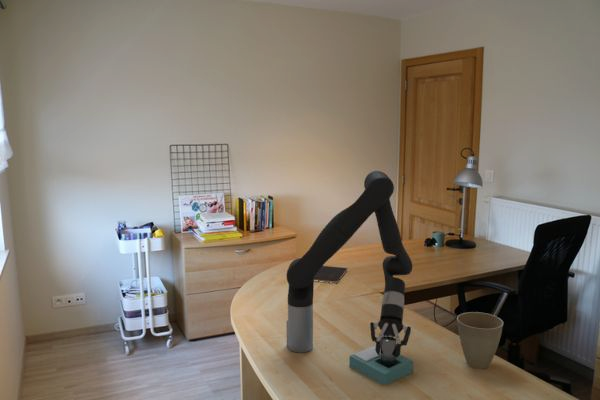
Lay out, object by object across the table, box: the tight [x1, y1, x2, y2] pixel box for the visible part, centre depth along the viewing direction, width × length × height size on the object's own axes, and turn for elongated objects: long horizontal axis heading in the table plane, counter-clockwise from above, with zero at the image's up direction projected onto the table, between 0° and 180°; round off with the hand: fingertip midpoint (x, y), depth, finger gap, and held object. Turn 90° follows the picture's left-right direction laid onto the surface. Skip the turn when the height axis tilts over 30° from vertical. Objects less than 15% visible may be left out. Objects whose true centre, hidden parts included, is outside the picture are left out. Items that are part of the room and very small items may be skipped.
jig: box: [349, 344, 414, 387], centre depth 172 cm, size 16×14×5 cm
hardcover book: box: [314, 265, 348, 284], centre depth 273 cm, size 16×23×2 cm
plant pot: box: [456, 311, 504, 370], centre depth 175 cm, size 15×15×16 cm
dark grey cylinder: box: [380, 336, 397, 368], centre depth 169 cm, size 5×5×10 cm
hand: (387, 355), depth 167 cm, fingers open, 5 cm apart
